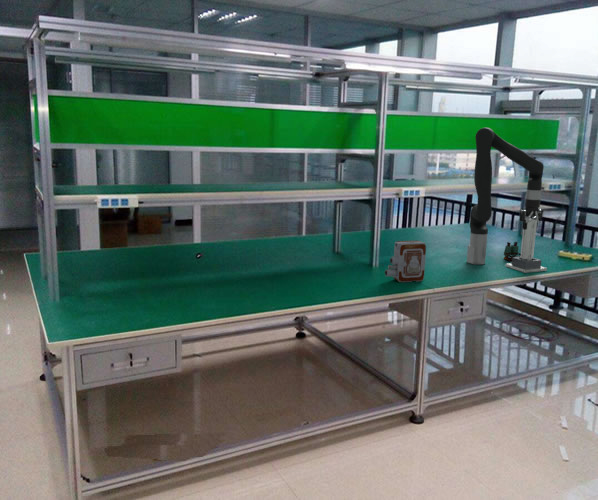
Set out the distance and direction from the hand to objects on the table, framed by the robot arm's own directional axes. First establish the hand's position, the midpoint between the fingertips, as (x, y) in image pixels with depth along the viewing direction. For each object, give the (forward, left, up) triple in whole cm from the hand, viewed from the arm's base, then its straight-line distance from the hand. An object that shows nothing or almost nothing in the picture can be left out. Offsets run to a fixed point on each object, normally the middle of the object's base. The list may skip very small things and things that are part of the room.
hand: (529, 228), depth 300 cm
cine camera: (-78, -1, -22) cm, 81 cm away
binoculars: (+7, +18, -22) cm, 29 cm away
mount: (0, 0, -22) cm, 22 cm away
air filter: (0, 0, -20) cm, 20 cm away
